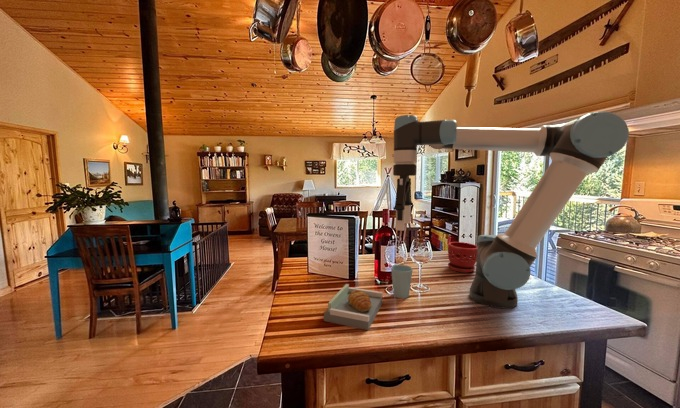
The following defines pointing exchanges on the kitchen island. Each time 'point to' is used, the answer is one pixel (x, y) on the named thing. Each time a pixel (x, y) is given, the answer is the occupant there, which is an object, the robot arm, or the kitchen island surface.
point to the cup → (401, 280)
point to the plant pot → (462, 256)
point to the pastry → (359, 301)
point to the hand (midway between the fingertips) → (403, 226)
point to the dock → (352, 309)
